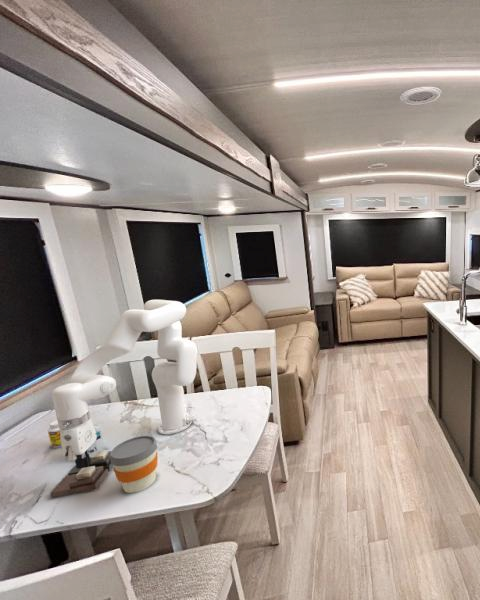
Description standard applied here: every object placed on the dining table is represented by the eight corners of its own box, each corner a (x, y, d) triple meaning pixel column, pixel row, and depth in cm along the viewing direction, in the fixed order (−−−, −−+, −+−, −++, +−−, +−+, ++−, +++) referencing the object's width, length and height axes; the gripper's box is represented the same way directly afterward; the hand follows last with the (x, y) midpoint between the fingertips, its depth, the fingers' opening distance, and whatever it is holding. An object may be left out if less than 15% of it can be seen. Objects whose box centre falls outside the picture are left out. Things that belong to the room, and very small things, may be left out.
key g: (95, 470, 113) (94, 465, 113) (90, 477, 110) (89, 472, 109) (83, 472, 112) (82, 467, 112) (77, 480, 109) (75, 475, 108)
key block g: (108, 473, 117) (106, 464, 116) (96, 489, 109) (94, 479, 109) (66, 481, 113) (64, 471, 112) (51, 498, 105) (49, 488, 105)
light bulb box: (106, 449, 129) (101, 426, 127) (85, 460, 123) (80, 435, 121) (89, 443, 133) (85, 420, 130) (69, 453, 126) (63, 429, 124)
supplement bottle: (49, 450, 128) (44, 427, 126) (54, 442, 133) (49, 420, 130) (68, 445, 131) (63, 423, 129) (72, 438, 136) (67, 417, 133)
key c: (109, 454, 122) (108, 449, 121) (104, 460, 118) (103, 455, 118) (97, 456, 120) (96, 451, 120) (92, 462, 117) (91, 457, 117)
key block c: (120, 457, 125) (118, 448, 124) (109, 471, 118) (108, 462, 117) (82, 463, 121) (80, 454, 120) (68, 478, 114) (66, 469, 113)
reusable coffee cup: (152, 492, 109) (146, 455, 105) (108, 500, 105) (100, 462, 102) (167, 467, 120) (162, 432, 117) (128, 473, 117) (121, 438, 114)
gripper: (74, 430, 101) (84, 479, 104) (100, 406, 114) (108, 450, 118) (43, 434, 98) (55, 484, 102) (74, 409, 112) (83, 454, 116)
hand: (83, 466), depth 110 cm, fingers closed
